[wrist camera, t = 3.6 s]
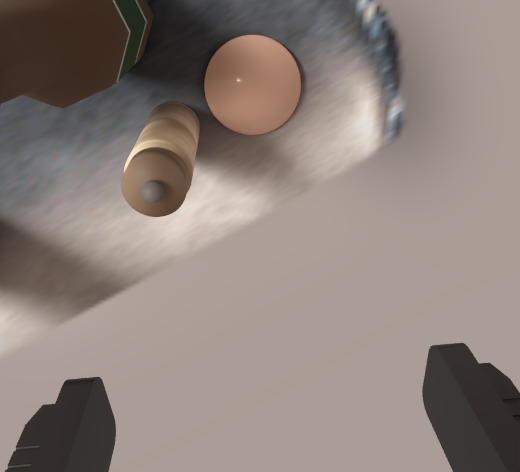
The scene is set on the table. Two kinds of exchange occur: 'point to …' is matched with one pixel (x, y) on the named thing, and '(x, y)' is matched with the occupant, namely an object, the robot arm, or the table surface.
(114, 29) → the beer bottle
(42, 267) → the table surface
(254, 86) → the saucer
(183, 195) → the pepper mill
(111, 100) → the table surface
